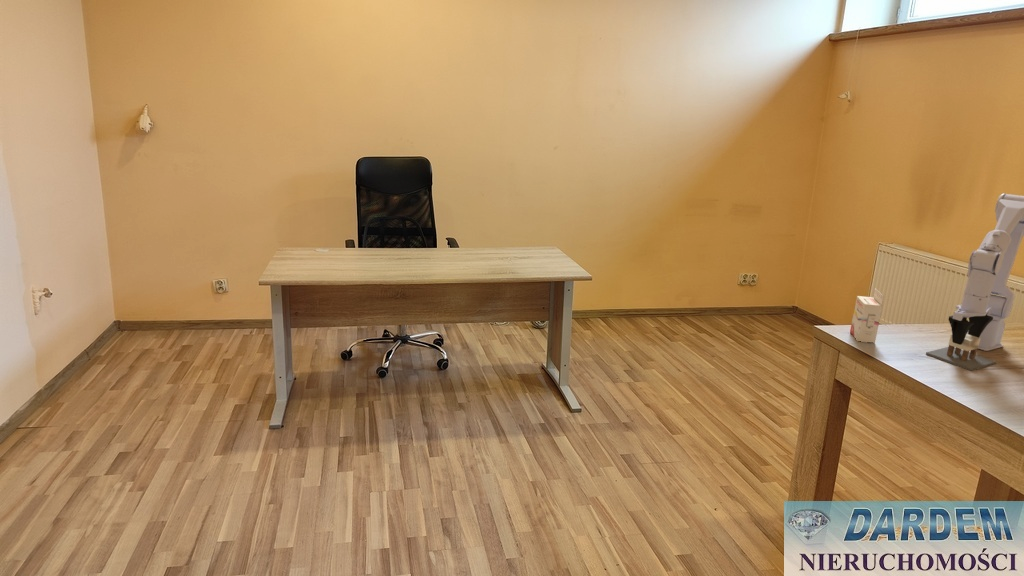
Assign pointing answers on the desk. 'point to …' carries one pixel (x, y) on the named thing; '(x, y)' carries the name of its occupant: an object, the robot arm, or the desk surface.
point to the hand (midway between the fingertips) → (964, 341)
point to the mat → (956, 359)
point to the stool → (965, 347)
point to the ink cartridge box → (867, 317)
